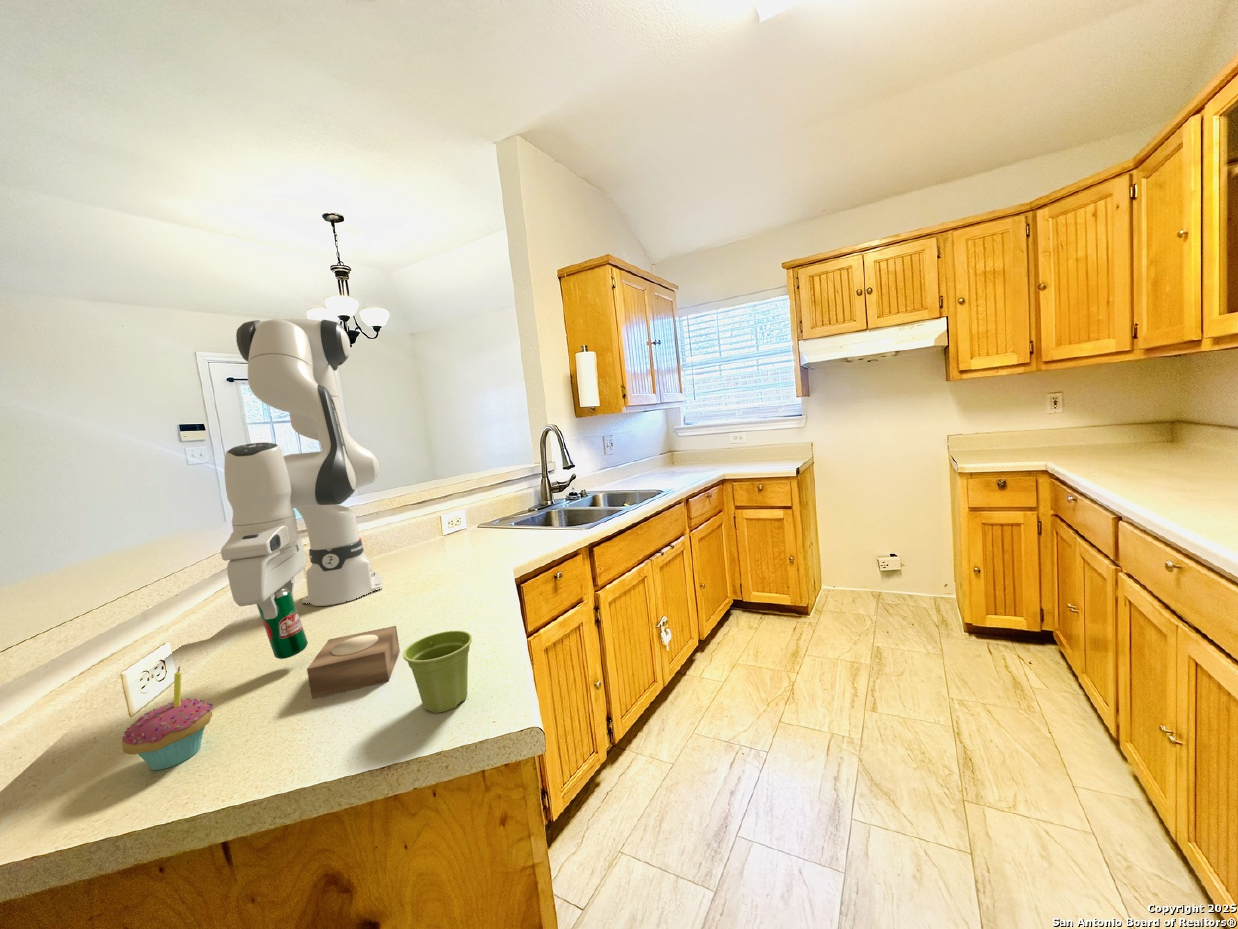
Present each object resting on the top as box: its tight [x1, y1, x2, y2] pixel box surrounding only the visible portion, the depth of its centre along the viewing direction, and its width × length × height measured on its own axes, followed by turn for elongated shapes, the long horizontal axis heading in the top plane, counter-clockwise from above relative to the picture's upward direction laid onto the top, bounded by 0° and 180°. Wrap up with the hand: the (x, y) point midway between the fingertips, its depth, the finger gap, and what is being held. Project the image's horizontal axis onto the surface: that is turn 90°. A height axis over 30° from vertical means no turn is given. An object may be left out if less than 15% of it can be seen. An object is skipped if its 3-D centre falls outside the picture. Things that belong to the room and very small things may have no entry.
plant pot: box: [402, 630, 473, 713], centre depth 66 cm, size 9×9×9 cm
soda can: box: [256, 586, 309, 660], centre depth 82 cm, size 5×5×12 cm
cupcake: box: [121, 665, 214, 771], centre depth 59 cm, size 9×8×12 cm
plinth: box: [306, 625, 401, 700], centre depth 77 cm, size 11×11×5 cm
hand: (280, 610), depth 81 cm, fingers closed on soda can, 5 cm apart
